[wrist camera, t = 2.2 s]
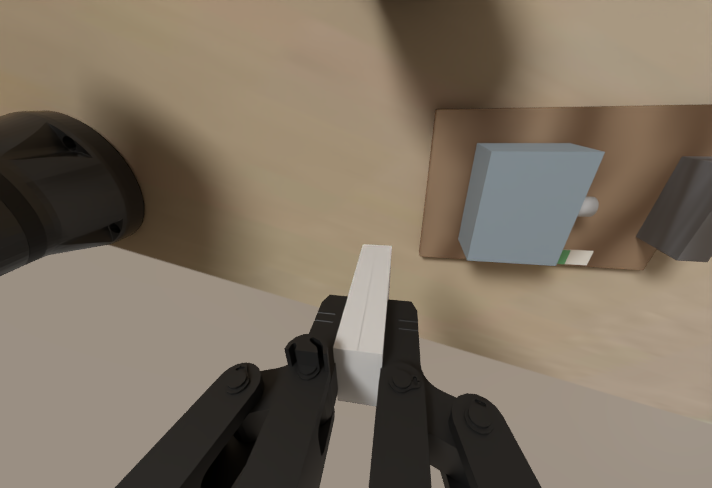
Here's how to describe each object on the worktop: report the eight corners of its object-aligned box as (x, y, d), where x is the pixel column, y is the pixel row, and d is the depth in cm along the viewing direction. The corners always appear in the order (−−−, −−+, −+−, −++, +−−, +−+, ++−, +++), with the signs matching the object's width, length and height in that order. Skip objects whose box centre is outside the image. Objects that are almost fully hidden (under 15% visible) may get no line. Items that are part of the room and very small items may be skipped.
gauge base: (419, 251, 28) (422, 278, 24) (435, 109, 22) (444, 111, 17) (634, 264, 25) (682, 297, 21) (733, 104, 19) (832, 105, 14)
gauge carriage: (455, 254, 26) (463, 277, 23) (476, 143, 21) (491, 151, 18) (550, 259, 25) (573, 285, 22) (598, 143, 20) (640, 151, 16)
